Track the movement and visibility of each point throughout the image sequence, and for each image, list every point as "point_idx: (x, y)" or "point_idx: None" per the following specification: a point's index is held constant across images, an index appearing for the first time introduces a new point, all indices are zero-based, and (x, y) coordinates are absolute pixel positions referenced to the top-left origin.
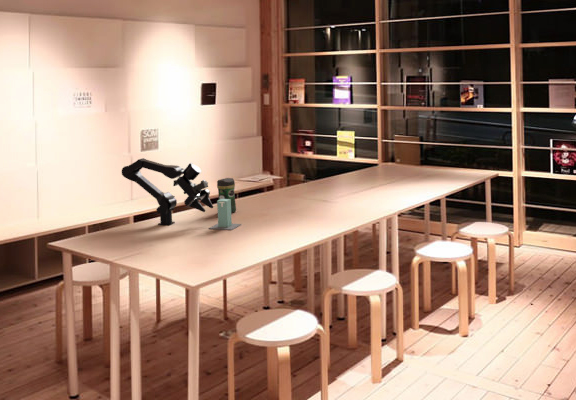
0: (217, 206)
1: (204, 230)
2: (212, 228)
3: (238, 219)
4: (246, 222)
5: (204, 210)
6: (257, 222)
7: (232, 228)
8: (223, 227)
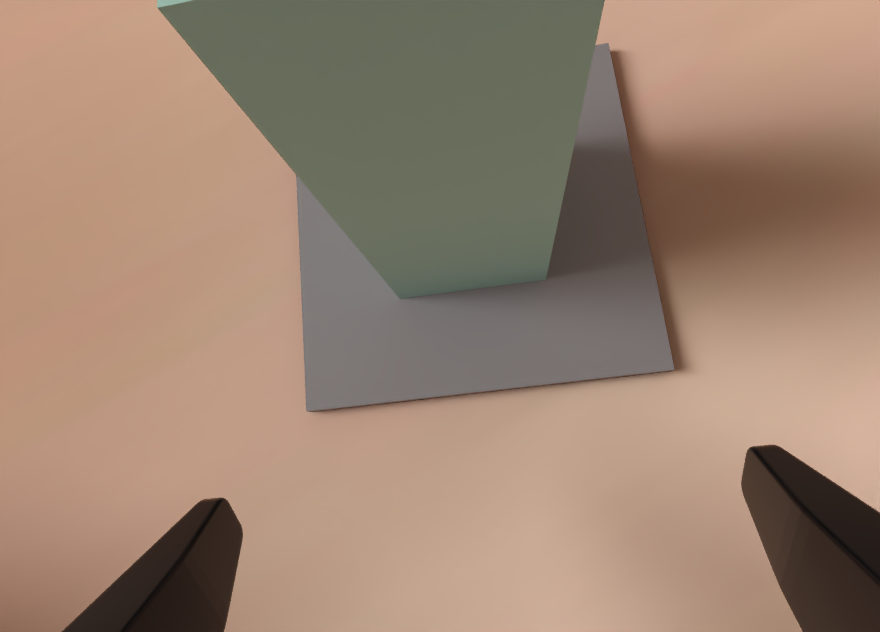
0: (585, 87)
1: (781, 384)
2: (661, 309)
3: (20, 293)
4: (162, 118)
5: (792, 464)
6: (139, 12)
7: None
8: None
